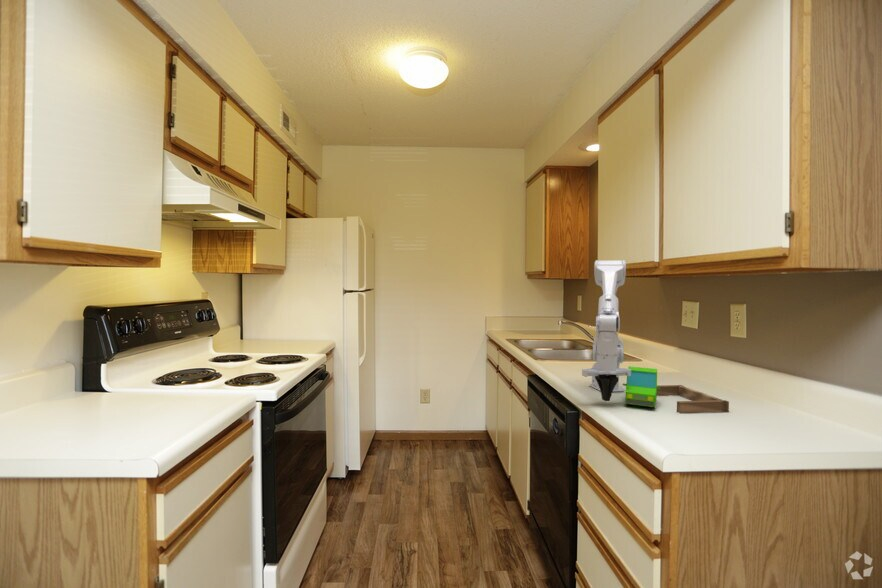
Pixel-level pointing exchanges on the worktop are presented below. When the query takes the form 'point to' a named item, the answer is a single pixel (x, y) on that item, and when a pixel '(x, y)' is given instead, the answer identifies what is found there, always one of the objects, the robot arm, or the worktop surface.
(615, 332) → the robot arm
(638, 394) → the toy car
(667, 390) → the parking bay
